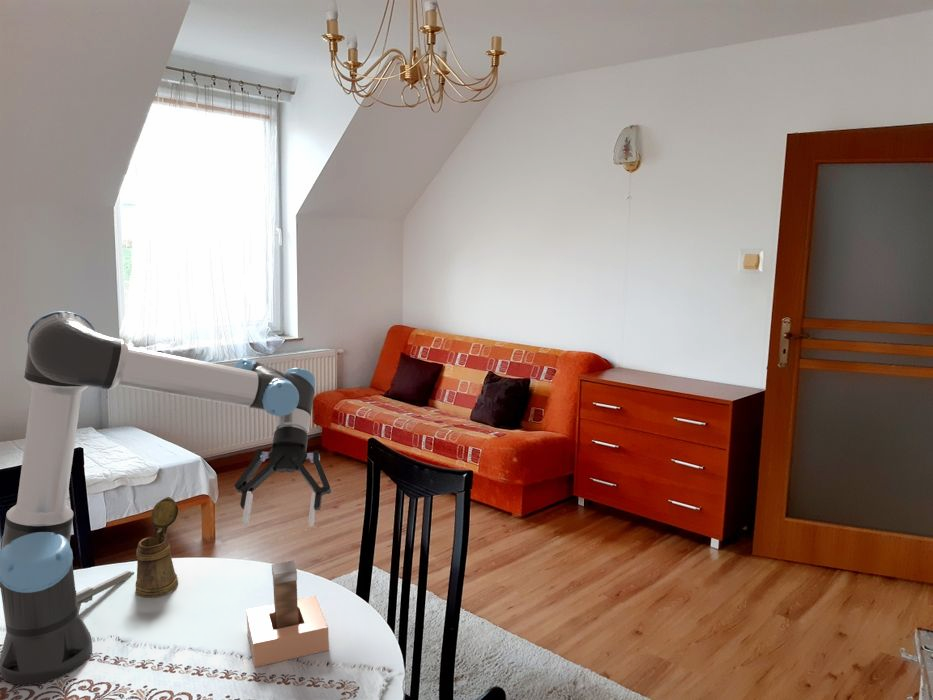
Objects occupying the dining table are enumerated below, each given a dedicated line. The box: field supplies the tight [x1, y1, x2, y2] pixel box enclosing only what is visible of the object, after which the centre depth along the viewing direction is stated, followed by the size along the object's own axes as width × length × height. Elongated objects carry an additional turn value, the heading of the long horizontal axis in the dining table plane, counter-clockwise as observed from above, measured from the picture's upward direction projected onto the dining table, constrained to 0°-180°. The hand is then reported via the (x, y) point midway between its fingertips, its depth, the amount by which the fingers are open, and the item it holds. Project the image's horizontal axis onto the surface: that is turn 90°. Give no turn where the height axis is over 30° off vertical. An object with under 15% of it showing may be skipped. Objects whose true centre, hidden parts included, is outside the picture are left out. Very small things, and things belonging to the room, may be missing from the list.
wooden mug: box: [134, 496, 179, 599], centre depth 161 cm, size 9×14×18 cm, turn 177°
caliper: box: [76, 570, 135, 614], centre depth 156 cm, size 20×1×6 cm, turn 168°
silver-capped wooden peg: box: [271, 559, 298, 629], centre depth 140 cm, size 4×4×16 cm
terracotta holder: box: [245, 595, 330, 668], centre depth 141 cm, size 14×12×5 cm
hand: (278, 523), depth 149 cm, fingers open, 13 cm apart
